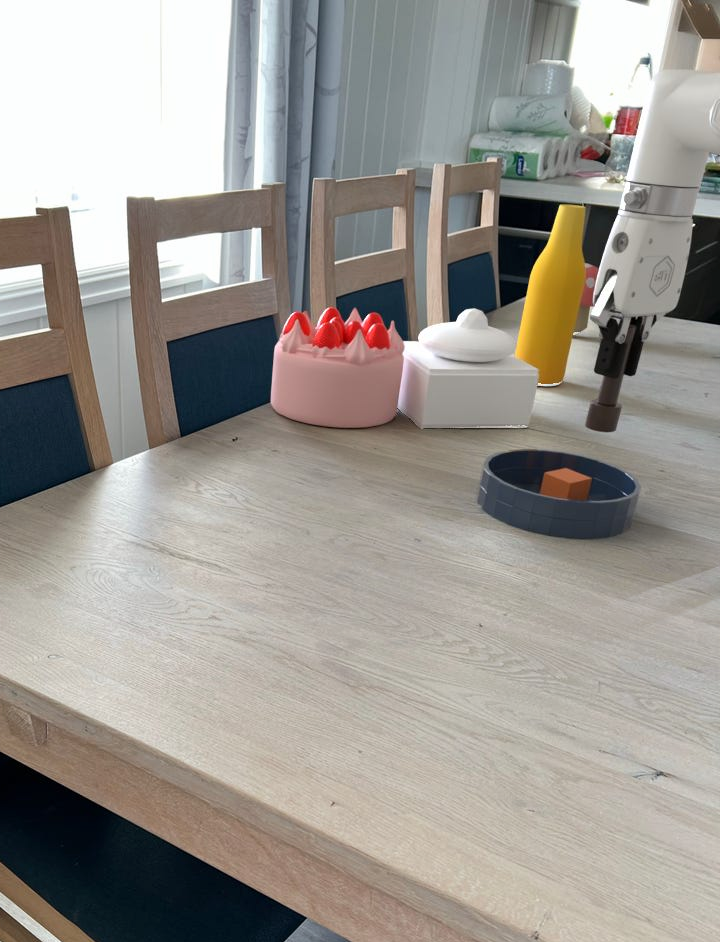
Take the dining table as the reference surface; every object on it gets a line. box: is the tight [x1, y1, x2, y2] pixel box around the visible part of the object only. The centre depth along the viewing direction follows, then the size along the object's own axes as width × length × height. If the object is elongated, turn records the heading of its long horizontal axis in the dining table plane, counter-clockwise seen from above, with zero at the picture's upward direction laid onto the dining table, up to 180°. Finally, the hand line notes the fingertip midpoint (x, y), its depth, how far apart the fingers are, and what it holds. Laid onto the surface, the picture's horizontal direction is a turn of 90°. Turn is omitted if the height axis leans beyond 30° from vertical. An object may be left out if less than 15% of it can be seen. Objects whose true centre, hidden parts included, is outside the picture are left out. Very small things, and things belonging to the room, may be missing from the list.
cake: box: [270, 306, 405, 429], centre depth 148 cm, size 20×20×14 cm
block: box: [540, 468, 592, 501], centre depth 118 cm, size 4×4×4 cm
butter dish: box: [397, 307, 539, 429], centre depth 151 cm, size 18×18×16 cm
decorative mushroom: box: [574, 262, 599, 333], centre depth 208 cm, size 13×13×15 cm
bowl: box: [476, 448, 642, 540], centre depth 117 cm, size 18×18×5 cm
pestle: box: [584, 322, 636, 433], centre depth 114 cm, size 4×4×12 cm
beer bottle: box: [514, 204, 586, 384], centre depth 168 cm, size 9×9×29 cm
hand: (614, 373), depth 114 cm, fingers closed on pestle, 2 cm apart
